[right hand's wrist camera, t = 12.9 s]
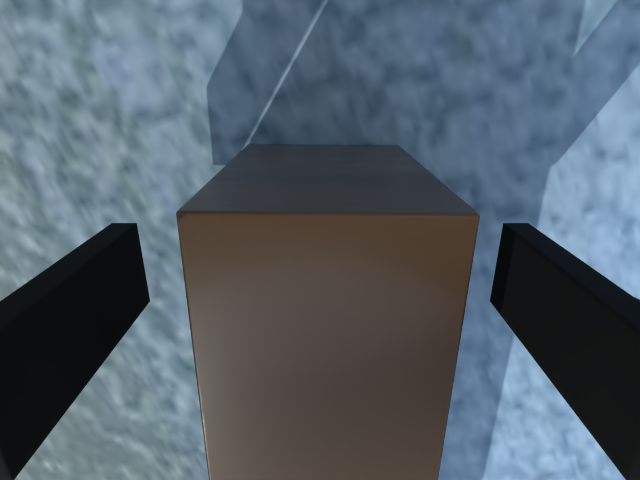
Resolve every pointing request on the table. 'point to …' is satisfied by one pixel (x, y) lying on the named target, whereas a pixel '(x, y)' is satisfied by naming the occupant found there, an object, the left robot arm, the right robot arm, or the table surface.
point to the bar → (325, 312)
